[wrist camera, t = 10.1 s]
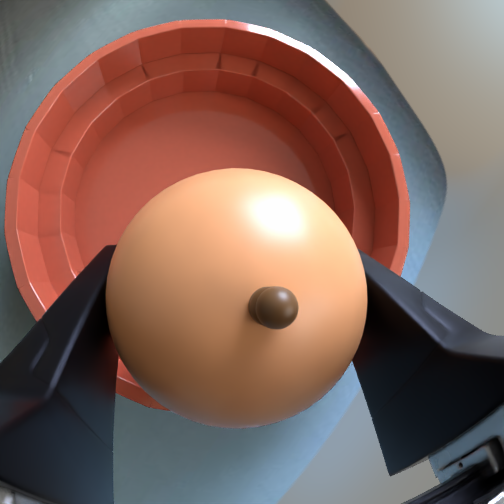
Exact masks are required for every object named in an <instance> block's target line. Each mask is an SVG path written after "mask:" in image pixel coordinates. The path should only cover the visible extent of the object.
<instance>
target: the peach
mask: <svg viewBox="0 0 504 504" xmlns="http://www.w3.org/2000/svg"><path fill="white" fill-rule="evenodd" d="M366 313H367V284H366V278H365V272H364V267H363V264H362V261H361V257H360V254H359V252H358V249H357V247H356V245H355V242H354V240H353V239H352V237H351V235H350V233H349V232H348V230H347V228H346V227H345V225H344V224H343V223H342V221H341V220H340V219H339V217H338V216H337V215H336V214H335V213H334V212H333V211H332V209H331V208H330V207H329V206H328V205H327V204H326V203H325V202H323V201H322V200H321V199H320V198H318V197H317V196H316V195H315V194H313V193H312V192H310V191H309V190H307V189H306V188H304V187H302V186H301V185H299V184H297V183H295V182H293V181H291V180H289V179H286V178H284V177H282V176H279V175H276V174H272V173H269V172H265V171H260V170H253V169H241V168H229V169H220V170H213V171H209V172H204V173H200V174H197V175H194V176H191V177H189V178H186V179H183V180H181V181H179V182H177V183H175V184H173V185H171V186H170V187H168V188H166V189H164V190H163V191H162V192H160V193H159V194H158V195H156V196H155V197H154V198H152V199H151V200H150V201H149V202H148V203H147V204H146V205H145V206H144V207H143V208H142V209H141V210H140V211H139V212H138V213H137V214H136V215H135V217H134V218H133V219H132V221H131V222H130V223H129V225H128V226H127V227H126V229H125V231H124V233H123V234H122V236H121V238H120V240H119V242H118V244H117V246H116V249H115V251H114V254H113V256H112V259H111V263H110V267H109V271H108V275H107V284H106V314H107V320H108V325H109V330H110V333H111V336H112V339H113V342H114V345H115V348H116V350H117V352H118V354H119V356H120V358H121V360H122V362H123V364H124V366H125V367H126V368H127V370H128V371H129V373H130V374H131V376H132V377H133V379H134V380H135V381H136V382H137V383H138V384H139V385H140V386H141V387H142V389H143V390H144V391H145V392H146V393H148V394H149V395H150V396H151V397H152V398H153V399H155V400H156V401H157V402H158V403H160V404H161V405H162V406H164V407H166V408H167V409H169V410H170V411H172V412H174V413H175V414H177V415H179V416H182V417H184V418H186V419H188V420H191V421H194V422H197V423H200V424H204V425H207V426H213V427H219V428H229V429H244V428H253V427H261V426H265V425H269V424H273V423H277V422H280V421H283V420H285V419H288V418H290V417H293V416H295V415H296V414H298V413H300V412H302V411H304V410H306V409H307V408H309V407H310V406H312V405H313V404H314V403H316V402H317V401H318V400H320V399H321V398H322V397H323V396H324V395H325V394H326V393H327V392H328V391H330V390H331V389H332V388H333V386H334V385H335V384H336V383H337V382H338V380H339V379H340V378H341V377H342V376H343V374H344V372H345V371H346V369H347V368H348V366H349V365H350V363H351V361H352V359H353V357H354V355H355V353H356V351H357V349H358V346H359V343H360V340H361V337H362V334H363V330H364V325H365V321H366Z"/></svg>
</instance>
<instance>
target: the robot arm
mask: <svg viewBox="0 0 504 504" xmlns="http://www.w3.org/2000/svg"><path fill="white" fill-rule="evenodd" d="M116 246H117V245H106V246H105V247H104V248H103V249H102V250H101V251H100V252H99V253H98V254H97V255H96V256H95V257H94V258H93V259H92V260H91V262H90V263H89V264H88V265H87V266H86V267H85V268H84V269H83V270H82V271H81V272H80V273H79V274H78V276H77V277H76V278H75V279H74V280H73V281H72V282H71V283H70V284H69V285H68V287H67V288H66V289H65V290H64V291H63V292H62V293H61V294H60V296H59V297H58V298H57V299H56V300H55V301H54V303H53V304H52V305H51V306H50V307H49V308H48V310H47V311H46V312H45V313H44V314H43V316H42V319H41V318H40V319H39V320H38V321H37V323H36V324H35V325H34V326H33V327H32V329H31V330H30V331H29V332H28V333H27V335H26V336H25V337H24V338H23V339H22V340H21V342H20V343H19V344H18V345H17V346H16V347H15V348H14V349H13V350H12V351H11V353H10V354H9V355H8V356H7V357H6V358H5V359H4V360H3V361H2V362H1V363H0V504H114V494H113V452H112V451H113V431H114V409H115V393H116V380H117V369H118V359H119V354H118V352H117V350H116V348H115V345H114V342H113V339H112V336H111V333H110V330H109V325H108V320H107V314H106V284H107V275H108V271H109V267H110V263H111V259H112V256H113V254H114V251H115V249H116ZM357 249H358V248H357ZM358 252H359V254H360V257H361V261H362V264H363V267H364V272H365V278H366V284H367V313H366V321H365V325H364V330H363V334H362V337H361V340H360V343H359V346H358V349H357V351H356V353H355V355H354V357H353V359H352V361H353V364H354V367H355V370H356V373H357V376H358V379H359V382H360V384H361V387H362V390H363V393H364V396H365V399H366V402H367V405H368V408H369V411H370V414H371V417H372V421H373V424H374V427H375V431H376V434H377V437H378V440H379V443H380V447H381V450H382V453H383V456H384V459H385V463H386V466H387V469H388V473H389V475H390V476H392V475H395V474H397V473H400V472H402V471H404V470H406V469H409V468H411V467H413V466H415V465H417V464H419V463H421V462H424V461H426V460H427V459H429V461H430V464H431V466H432V469H433V471H434V474H435V476H436V478H437V477H438V479H439V481H440V484H439V485H437V486H435V487H433V488H431V489H430V490H428V491H426V492H424V493H422V494H420V495H418V496H416V497H414V498H412V499H410V500H408V501H406V502H404V503H402V504H504V336H496V335H491V334H488V333H486V332H483V331H482V330H480V329H478V328H477V327H475V326H474V325H472V324H471V323H469V322H467V321H466V320H464V319H463V318H461V317H460V316H458V315H456V314H455V313H453V312H452V311H450V310H448V309H447V308H445V307H444V306H442V305H441V304H439V303H438V302H436V301H435V300H433V299H432V298H430V297H429V296H428V295H426V294H425V293H423V292H420V290H419V289H418V288H416V287H415V286H413V285H412V284H410V283H409V282H407V281H406V280H405V279H403V278H402V277H400V276H399V275H397V274H396V273H394V272H393V271H391V270H390V269H388V268H387V267H385V266H384V265H382V264H381V263H379V262H378V261H376V260H375V259H373V258H372V257H370V256H369V255H367V254H366V253H364V252H363V251H361V250H360V249H358Z"/></svg>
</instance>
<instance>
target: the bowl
mask: <svg viewBox="0 0 504 504" xmlns="http://www.w3.org/2000/svg"><path fill="white" fill-rule="evenodd" d="M229 168H241V169H253V170H260V171H265V172H269V173H272V174H276V175H279V176H282V177H284V178H286V179H289V180H291V181H293V182H295V183H297V184H299V185H301V186H302V187H304V188H306V189H307V190H309V191H310V192H312V193H313V194H315V195H316V196H317V197H318V198H320V199H321V200H322V201H323V202H325V203H326V204H327V205H328V206H329V207H330V208H331V209H332V211H333V212H334V213H335V214H336V215H337V216H338V217H339V219H340V220H341V221H342V223H343V224H344V225H345V227H346V228H347V230H348V232H349V233H350V235H351V237H352V239H353V240H354V242H355V245H356V247H357V248H358V249H360V250H361V251H363V252H364V253H366V254H367V255H369V256H370V257H372V258H373V259H375V260H376V261H378V262H379V263H381V264H382V265H384V266H385V267H387V268H388V269H390V270H391V271H393V272H394V273H396V274H397V275H399V276H401V273H402V270H403V266H404V263H405V259H406V256H407V252H408V248H409V224H410V200H409V195H408V190H407V185H406V180H405V176H404V171H403V167H402V163H401V159H400V155H399V152H398V150H397V147H396V145H395V143H394V141H393V139H392V137H391V135H390V133H389V131H388V129H387V127H386V125H385V123H384V121H383V119H382V117H381V115H380V113H379V112H378V110H377V109H376V108H375V107H374V105H373V104H372V103H371V102H370V100H369V99H368V98H367V97H366V95H365V94H364V93H363V92H362V91H361V89H360V88H359V87H358V86H357V85H356V83H355V82H354V81H353V80H352V79H351V78H350V77H349V76H348V75H347V74H346V73H345V72H343V71H342V70H341V69H340V68H338V67H337V66H336V65H335V64H333V63H332V62H331V61H329V60H328V59H327V58H326V57H324V56H323V55H321V54H320V53H319V52H317V51H316V50H315V49H313V48H311V47H309V46H307V45H305V44H303V43H301V42H299V41H297V40H295V39H292V38H290V37H288V36H286V35H284V34H281V33H279V32H277V31H275V30H271V29H269V28H265V27H261V26H256V25H252V24H247V23H242V22H237V21H232V20H219V19H204V20H181V21H179V20H178V21H174V22H169V23H165V24H160V25H156V26H152V27H148V28H145V29H141V30H137V31H135V32H132V33H130V34H127V35H125V36H123V37H121V38H119V39H117V40H115V41H113V42H111V43H109V44H108V45H106V46H104V47H102V48H100V49H98V50H96V51H95V52H93V53H92V54H90V55H89V56H87V57H86V58H85V59H84V60H83V61H81V62H80V63H79V64H78V65H77V66H75V67H74V68H73V69H72V70H71V71H70V72H69V73H68V74H66V75H65V76H64V77H63V78H62V79H61V80H60V81H59V82H58V83H57V84H56V85H55V86H54V87H53V88H52V89H51V90H50V92H49V93H48V95H47V96H46V97H45V99H44V100H43V102H42V103H41V105H40V106H39V107H38V109H37V110H36V112H35V113H34V115H33V116H32V118H31V120H30V121H29V123H28V124H27V126H26V127H25V130H24V132H23V135H22V138H21V140H20V143H19V146H18V149H17V151H16V154H15V157H14V160H13V163H12V166H11V170H10V173H9V176H8V179H7V189H6V203H5V230H4V233H5V239H6V244H7V249H8V253H9V258H10V262H11V266H12V270H13V274H14V278H15V281H16V285H17V288H18V289H19V292H20V294H21V296H22V298H23V299H24V301H25V303H26V305H27V306H28V308H29V310H30V312H31V313H32V315H33V317H34V318H35V320H36V322H37V321H38V320H39V319H40V318H41V319H42V316H43V314H44V313H45V312H46V311H47V310H48V308H49V307H50V306H51V305H52V304H53V303H54V301H55V300H56V299H57V298H58V297H59V296H60V294H61V293H62V292H63V291H64V290H65V289H66V288H67V287H68V285H69V284H70V283H71V282H72V281H73V280H74V279H75V278H76V277H77V276H78V274H79V273H80V272H81V271H82V270H83V269H84V268H85V267H86V266H87V265H88V264H89V263H90V262H91V260H92V259H93V258H94V257H95V256H96V255H97V254H98V253H99V252H100V251H101V250H102V249H103V248H104V247H105V246H106V245H117V244H118V242H119V240H120V238H121V236H122V234H123V233H124V231H125V229H126V227H127V226H128V225H129V223H130V222H131V221H132V219H133V218H134V217H135V215H136V214H137V213H138V212H139V211H140V210H141V209H142V208H143V207H144V206H145V205H146V204H147V203H148V202H149V201H150V200H151V199H152V198H154V197H155V196H156V195H158V194H159V193H160V192H162V191H163V190H164V189H166V188H168V187H170V186H171V185H173V184H175V183H177V182H179V181H181V180H183V179H186V178H189V177H191V176H194V175H197V174H200V173H204V172H209V171H213V170H220V169H229ZM116 393H117V394H119V395H121V396H124V397H126V398H128V399H130V400H132V401H135V402H137V403H139V404H142V405H144V406H146V407H149V408H150V407H151V408H154V409H160V410H167V411H170V410H169V409H167V408H166V407H164V406H162V405H161V404H160V403H158V402H157V401H156V400H155V399H153V398H152V397H151V396H150V395H149V394H148V393H146V392H145V391H144V390H143V389H142V387H141V386H140V385H139V384H138V383H137V382H136V381H135V380H134V379H133V377H132V376H131V374H130V373H129V371H128V370H127V368H126V367H125V366H124V364H123V362H122V360H121V358H120V356H119V359H118V369H117V380H116Z"/></svg>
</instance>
